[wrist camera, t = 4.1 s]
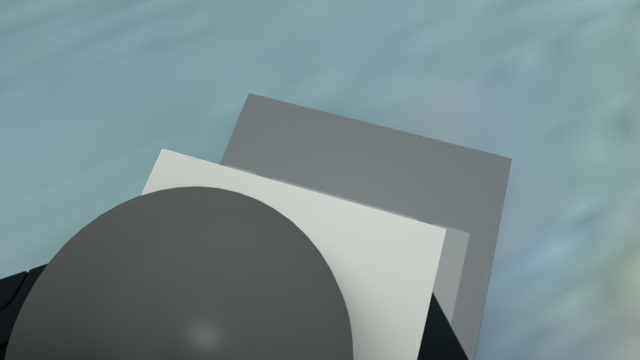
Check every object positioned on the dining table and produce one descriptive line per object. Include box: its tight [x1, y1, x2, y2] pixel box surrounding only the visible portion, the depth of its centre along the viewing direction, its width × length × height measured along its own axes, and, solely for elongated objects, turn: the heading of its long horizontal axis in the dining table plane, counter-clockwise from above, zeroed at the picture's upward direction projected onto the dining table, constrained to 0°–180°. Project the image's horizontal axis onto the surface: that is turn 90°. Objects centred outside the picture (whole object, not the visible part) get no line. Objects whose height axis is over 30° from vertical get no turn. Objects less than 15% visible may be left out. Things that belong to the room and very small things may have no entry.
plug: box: [4, 149, 446, 360], centre depth 9 cm, size 5×5×12 cm
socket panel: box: [220, 93, 512, 360], centre depth 13 cm, size 16×11×4 cm
